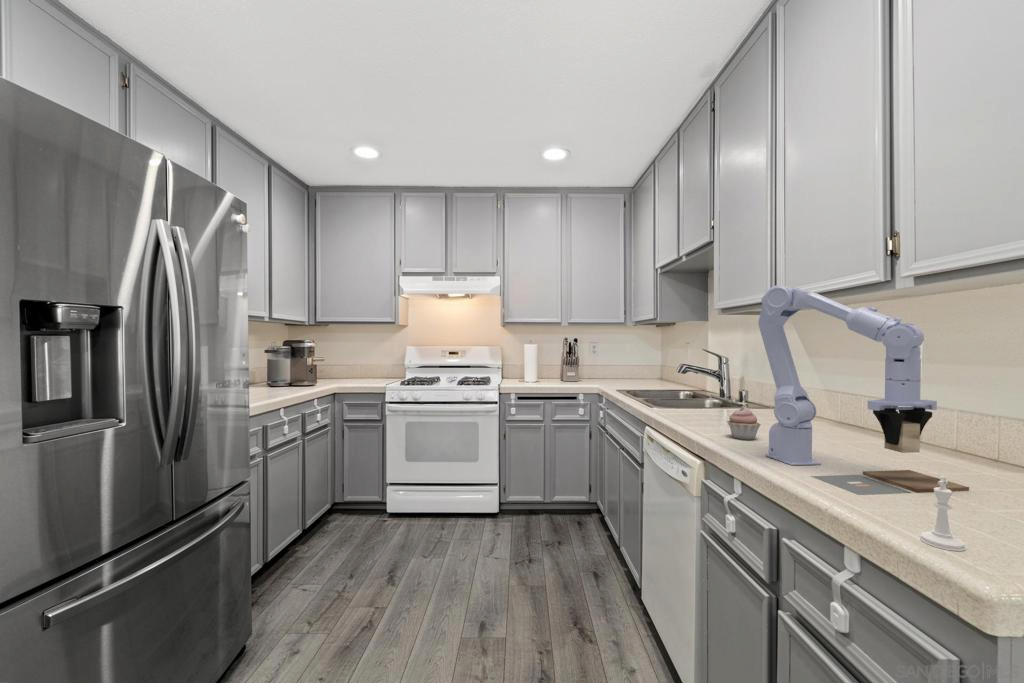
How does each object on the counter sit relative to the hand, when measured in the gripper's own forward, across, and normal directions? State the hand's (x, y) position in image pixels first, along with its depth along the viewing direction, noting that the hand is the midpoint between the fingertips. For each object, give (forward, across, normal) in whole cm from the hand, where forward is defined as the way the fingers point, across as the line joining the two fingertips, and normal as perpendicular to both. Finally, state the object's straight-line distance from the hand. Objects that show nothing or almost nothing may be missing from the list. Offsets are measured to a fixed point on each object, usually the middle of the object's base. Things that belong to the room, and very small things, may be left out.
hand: (901, 443), depth 95 cm
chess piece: (+9, -22, -26) cm, 35 cm away
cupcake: (+9, -6, +44) cm, 45 cm away
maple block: (+1, 0, 0) cm, 1 cm away
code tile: (+8, -10, 0) cm, 13 cm away
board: (+8, +3, 0) cm, 9 cm away
